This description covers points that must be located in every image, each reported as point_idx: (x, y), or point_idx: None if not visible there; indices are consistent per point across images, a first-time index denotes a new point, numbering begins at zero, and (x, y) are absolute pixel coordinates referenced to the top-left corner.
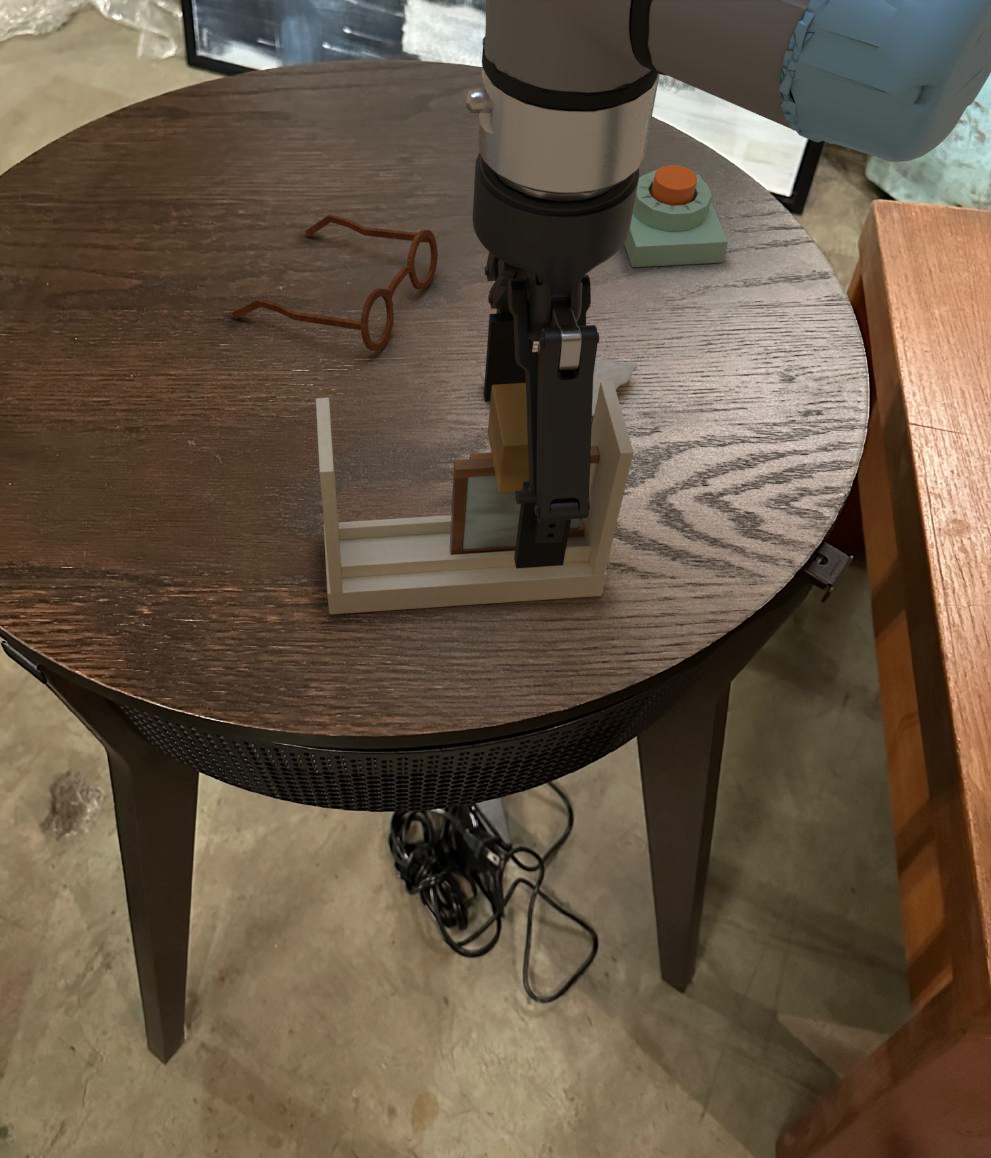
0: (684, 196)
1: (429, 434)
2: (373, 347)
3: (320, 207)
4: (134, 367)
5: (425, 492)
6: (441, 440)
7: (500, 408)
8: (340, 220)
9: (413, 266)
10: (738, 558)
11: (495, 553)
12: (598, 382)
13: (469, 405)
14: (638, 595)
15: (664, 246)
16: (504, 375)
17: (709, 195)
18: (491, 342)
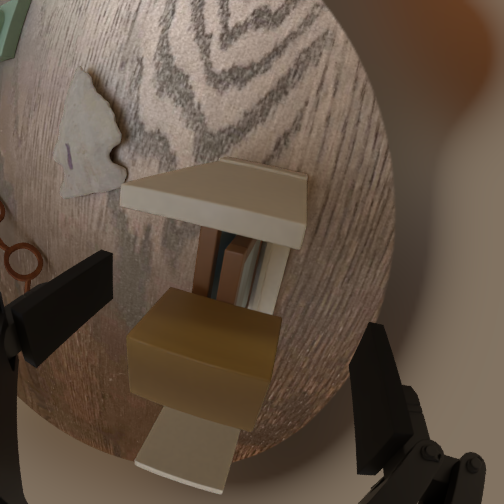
0: None
1: (107, 249)
2: (41, 264)
3: None
4: (65, 377)
5: (160, 273)
6: (113, 242)
7: (177, 408)
8: None
9: None
10: (302, 40)
11: (260, 280)
12: (85, 104)
13: (85, 208)
14: (316, 141)
15: (7, 36)
16: (89, 299)
17: None
18: (57, 346)
